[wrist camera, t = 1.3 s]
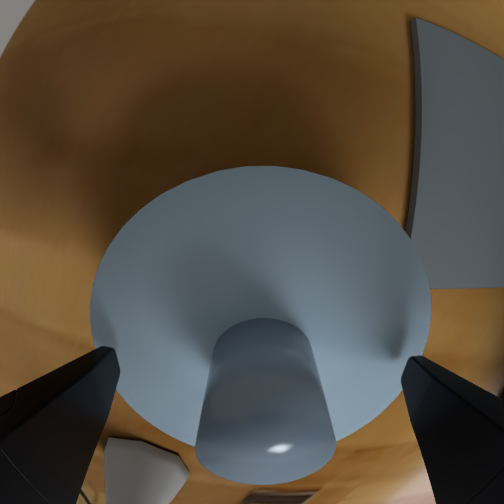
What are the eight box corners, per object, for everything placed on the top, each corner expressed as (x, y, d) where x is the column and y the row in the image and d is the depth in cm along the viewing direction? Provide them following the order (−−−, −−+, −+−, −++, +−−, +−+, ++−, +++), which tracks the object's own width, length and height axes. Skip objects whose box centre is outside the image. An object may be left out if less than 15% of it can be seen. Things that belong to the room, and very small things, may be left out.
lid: (444, 186, 8) (550, 217, 4) (371, 433, 11) (397, 509, 7) (88, 166, 8) (-22, 185, 4) (133, 425, 11) (104, 503, 7)
